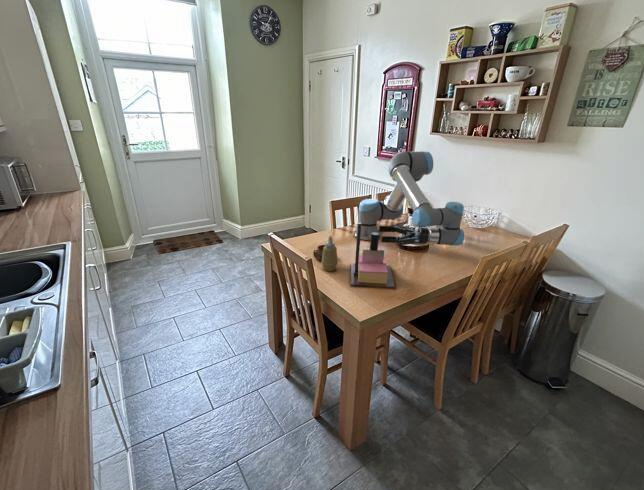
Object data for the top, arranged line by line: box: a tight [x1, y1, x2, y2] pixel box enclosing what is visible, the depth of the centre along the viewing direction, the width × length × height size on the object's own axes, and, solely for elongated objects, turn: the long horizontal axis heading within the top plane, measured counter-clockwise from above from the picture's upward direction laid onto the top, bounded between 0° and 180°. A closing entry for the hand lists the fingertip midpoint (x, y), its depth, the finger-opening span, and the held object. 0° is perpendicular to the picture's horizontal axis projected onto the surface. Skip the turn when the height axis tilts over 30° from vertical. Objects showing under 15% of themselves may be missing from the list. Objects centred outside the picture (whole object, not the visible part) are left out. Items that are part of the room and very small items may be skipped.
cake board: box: [350, 222, 396, 290], centre depth 155 cm, size 22×20×27 cm
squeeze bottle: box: [321, 235, 338, 272], centre depth 163 cm, size 8×8×18 cm
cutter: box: [362, 232, 385, 263], centre depth 154 cm, size 4×10×15 cm, turn 85°
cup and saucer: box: [312, 244, 325, 261], centre depth 177 cm, size 12×12×6 cm
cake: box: [358, 254, 388, 284], centre depth 159 cm, size 17×13×6 cm
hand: (380, 233), depth 151 cm, fingers open, 13 cm apart
